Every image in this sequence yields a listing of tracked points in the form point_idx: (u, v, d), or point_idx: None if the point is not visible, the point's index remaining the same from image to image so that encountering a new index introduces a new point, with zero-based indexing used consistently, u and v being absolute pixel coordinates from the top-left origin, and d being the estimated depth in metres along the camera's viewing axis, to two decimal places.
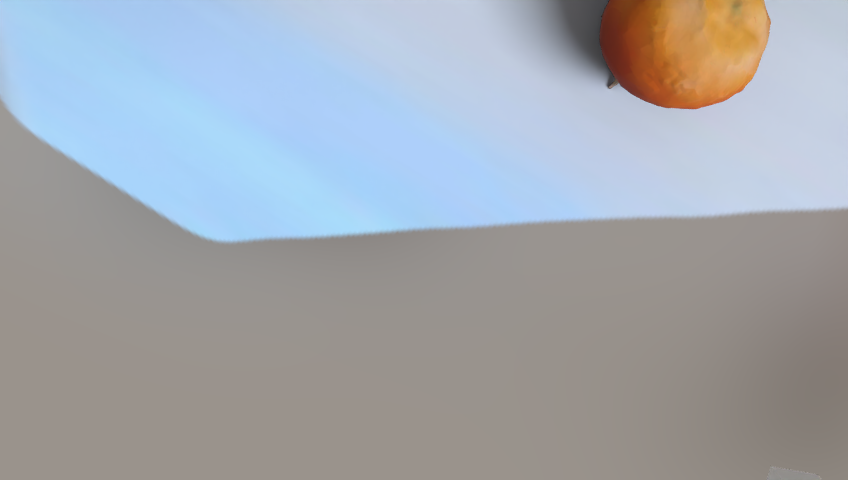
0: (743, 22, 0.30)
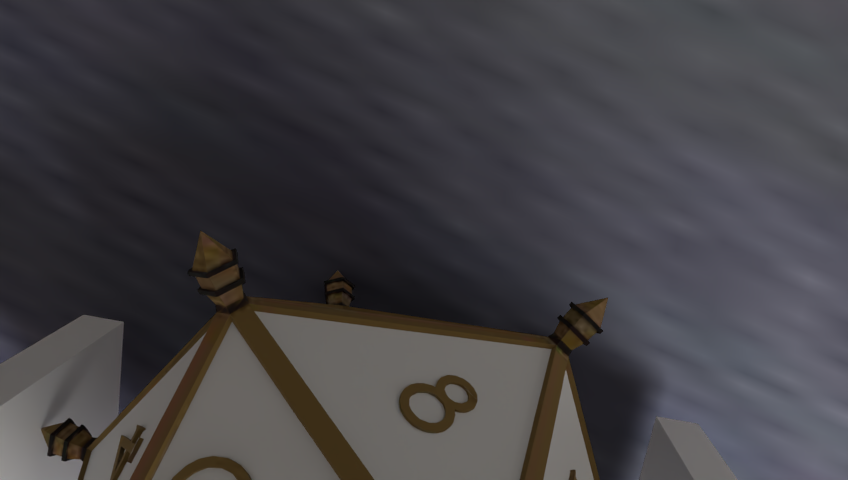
0: None
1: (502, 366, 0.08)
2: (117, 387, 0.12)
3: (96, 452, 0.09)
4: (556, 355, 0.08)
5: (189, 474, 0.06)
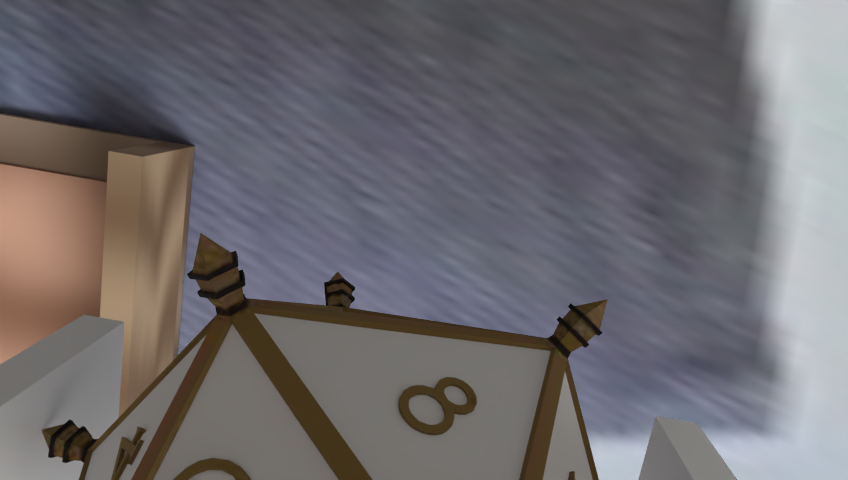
0: None
1: (501, 368, 0.08)
2: (117, 387, 0.12)
3: (97, 454, 0.09)
4: (555, 357, 0.08)
5: (189, 476, 0.06)
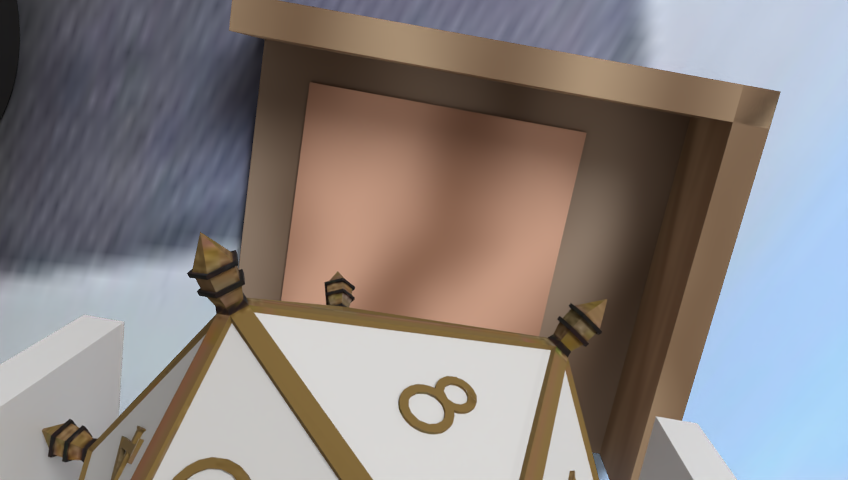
0: None
1: (501, 367, 0.08)
2: (117, 387, 0.12)
3: (97, 453, 0.09)
4: (555, 356, 0.08)
5: (189, 475, 0.06)
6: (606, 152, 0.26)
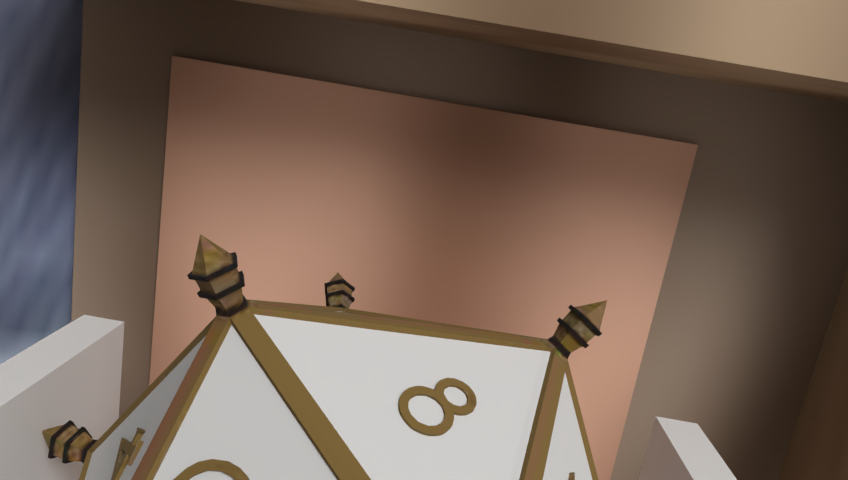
0: None
1: (501, 369, 0.08)
2: (117, 387, 0.12)
3: (97, 454, 0.09)
4: (555, 358, 0.08)
5: (189, 477, 0.06)
6: (734, 182, 0.14)
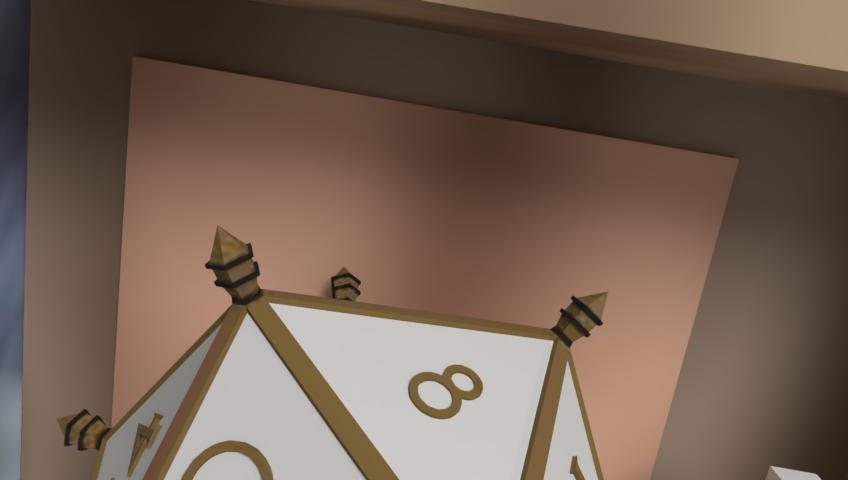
0: None
1: (506, 356, 0.08)
2: None
3: (112, 441, 0.09)
4: (558, 346, 0.09)
5: (208, 457, 0.07)
6: (780, 201, 0.12)
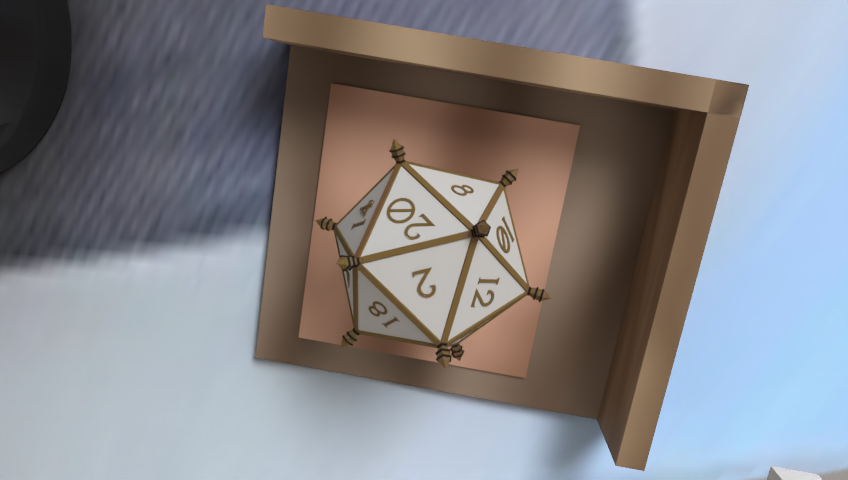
0: None
1: (482, 186, 0.25)
2: None
3: (341, 223, 0.26)
4: (500, 185, 0.25)
5: (395, 202, 0.23)
6: (599, 143, 0.28)
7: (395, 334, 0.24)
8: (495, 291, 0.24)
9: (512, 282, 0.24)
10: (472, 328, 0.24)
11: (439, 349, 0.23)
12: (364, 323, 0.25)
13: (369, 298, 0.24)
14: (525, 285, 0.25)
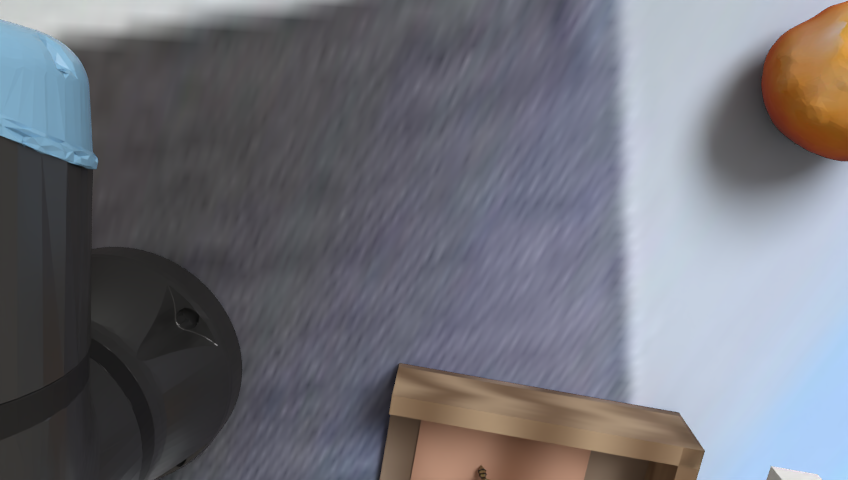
0: None
1: None
2: None
3: None
4: None
5: None
6: None
7: None
8: None
9: None
10: None
11: None
12: None
13: None
14: None
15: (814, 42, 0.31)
